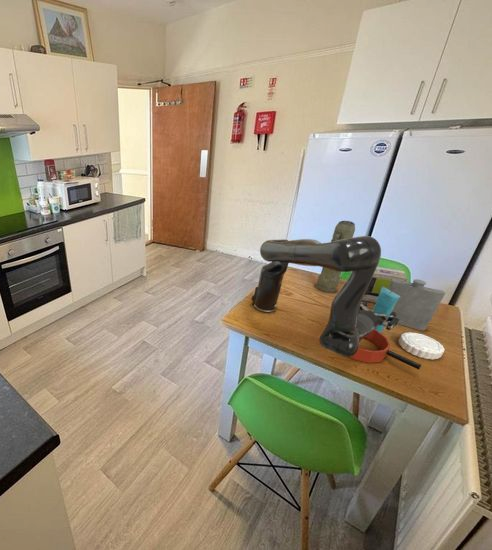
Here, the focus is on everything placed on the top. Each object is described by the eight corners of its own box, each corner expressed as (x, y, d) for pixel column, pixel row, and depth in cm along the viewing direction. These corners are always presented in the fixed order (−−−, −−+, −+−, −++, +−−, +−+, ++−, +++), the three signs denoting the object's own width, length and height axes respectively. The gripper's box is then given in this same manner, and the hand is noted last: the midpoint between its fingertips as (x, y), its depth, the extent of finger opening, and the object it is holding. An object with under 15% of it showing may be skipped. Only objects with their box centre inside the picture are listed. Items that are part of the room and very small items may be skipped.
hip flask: (425, 327, 121) (448, 285, 112) (424, 332, 119) (448, 289, 109) (377, 312, 131) (394, 273, 122) (375, 316, 129) (393, 276, 119)
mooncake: (398, 334, 118) (401, 327, 116) (439, 346, 111) (443, 339, 110) (397, 350, 110) (401, 343, 108) (442, 365, 103) (447, 357, 102)
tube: (386, 336, 117) (406, 295, 108) (376, 338, 116) (395, 297, 107) (368, 325, 124) (386, 285, 115) (359, 327, 123) (375, 287, 114)
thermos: (340, 287, 151) (363, 221, 135) (330, 295, 145) (353, 227, 129) (321, 281, 157) (341, 217, 141) (311, 288, 151) (331, 222, 135)
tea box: (392, 297, 142) (404, 269, 135) (395, 307, 134) (409, 279, 127) (354, 289, 149) (364, 263, 142) (355, 299, 141) (366, 271, 134)
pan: (320, 342, 115) (324, 332, 113) (341, 326, 123) (345, 316, 121) (406, 386, 95) (412, 375, 93) (424, 364, 104) (430, 353, 101)
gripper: (389, 325, 97) (407, 308, 105) (341, 306, 108) (361, 292, 116) (381, 343, 101) (398, 325, 108) (335, 322, 111) (355, 308, 119)
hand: (379, 308), depth 112 cm, fingers open, 8 cm apart
